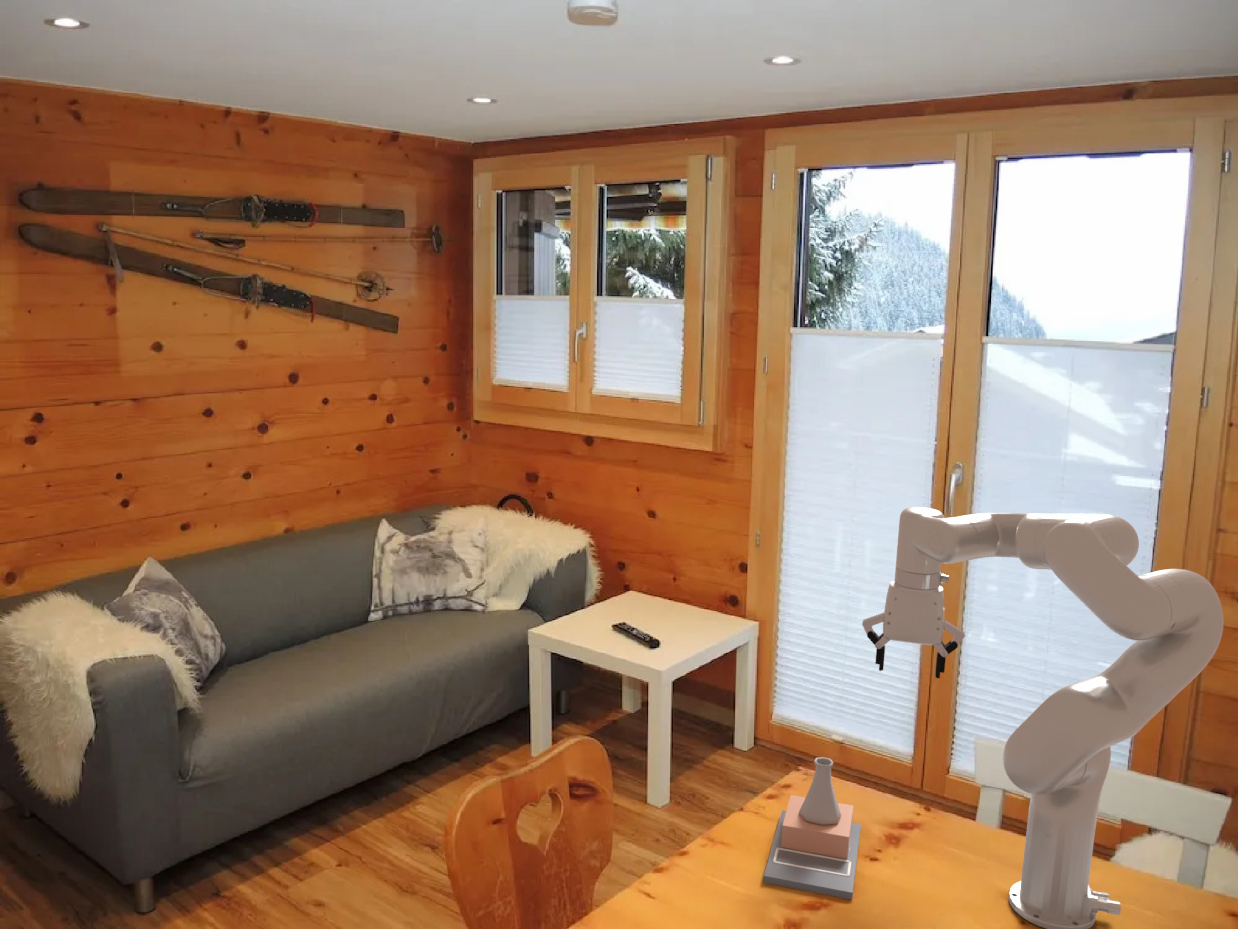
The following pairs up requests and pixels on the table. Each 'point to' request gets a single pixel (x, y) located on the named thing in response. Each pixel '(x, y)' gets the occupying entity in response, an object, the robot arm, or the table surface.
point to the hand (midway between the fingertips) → (909, 672)
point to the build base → (814, 852)
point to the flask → (821, 796)
